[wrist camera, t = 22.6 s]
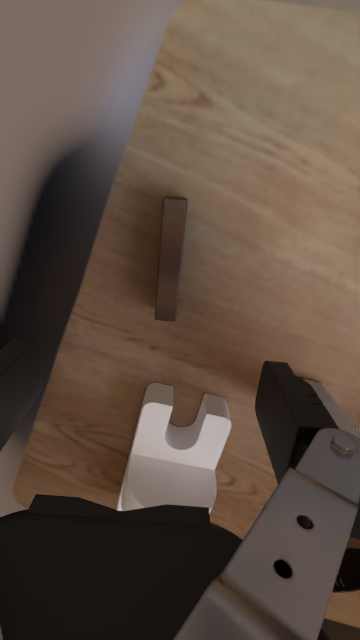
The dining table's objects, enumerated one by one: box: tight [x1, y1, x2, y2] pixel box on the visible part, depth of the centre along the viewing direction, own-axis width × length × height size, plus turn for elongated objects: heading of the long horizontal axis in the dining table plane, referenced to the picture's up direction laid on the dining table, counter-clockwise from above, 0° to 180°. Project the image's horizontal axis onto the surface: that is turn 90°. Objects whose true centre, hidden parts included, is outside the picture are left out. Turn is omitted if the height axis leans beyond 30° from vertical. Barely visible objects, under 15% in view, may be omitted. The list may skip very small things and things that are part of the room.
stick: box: [155, 196, 187, 322], centre depth 31 cm, size 11×2×3 cm, turn 175°
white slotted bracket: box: [117, 383, 231, 514], centre depth 37 cm, size 10×18×11 cm, turn 166°
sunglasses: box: [332, 549, 360, 593], centre depth 45 cm, size 10×12×5 cm
